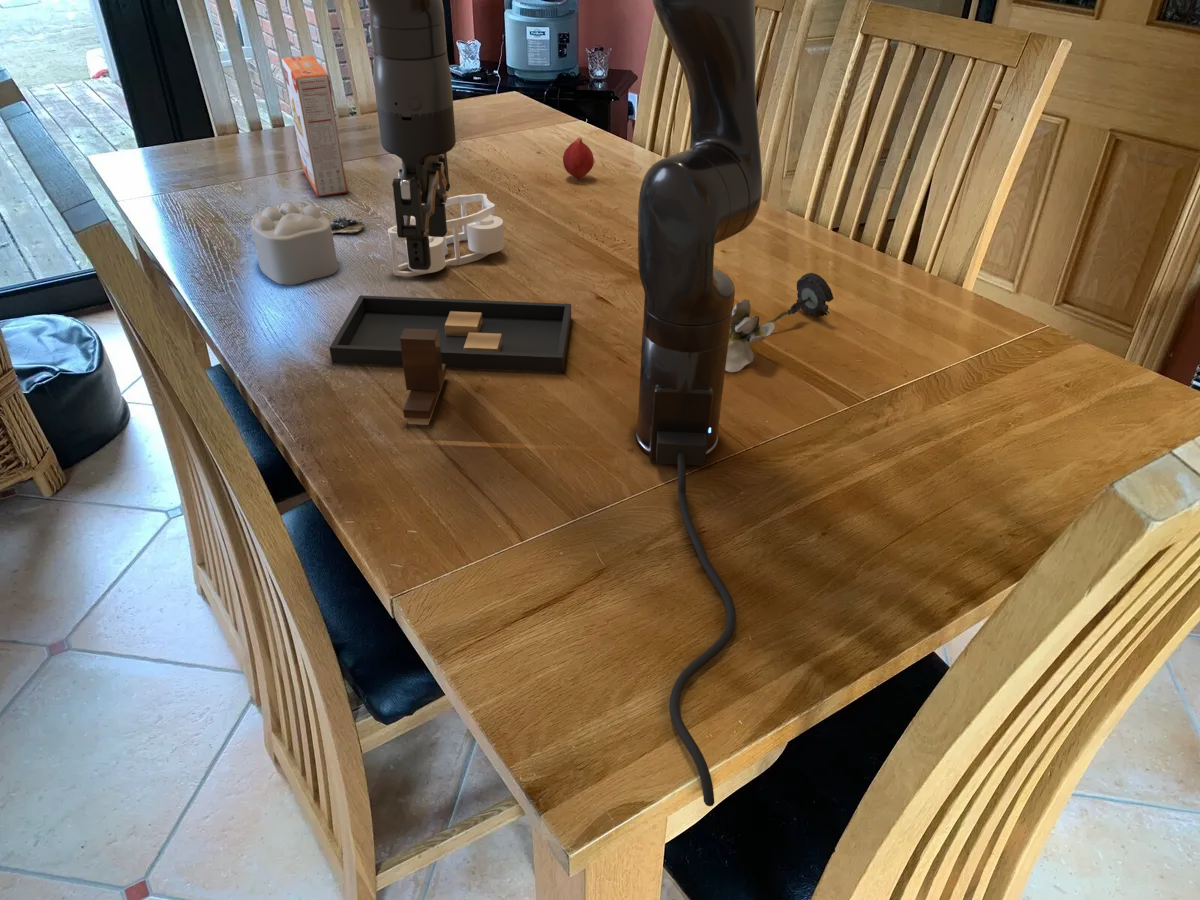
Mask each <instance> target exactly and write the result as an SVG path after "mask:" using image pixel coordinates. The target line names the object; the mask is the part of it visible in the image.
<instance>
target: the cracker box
mask: <svg viewBox="0 0 1200 900" xmlns="http://www.w3.org/2000/svg"><path fill="white" fill-rule="evenodd" d="M281 64H282V68H283V73H284V77H285V83H286V87H287V93H288V97H289V104H290V109H291V114H292V119H293V124H294V129H295V134H296V140H297V145H298V152H299V155H300V160H301V161H300V162H301V166H302V170H303V173H304V174H305V177H306V178H307V180H308V182H309V184H310V185H311V187H312V189H313V191H314V193H315V195H316V196H317V197H318V198H320V197H328V196H334V195H341V194H347V193H349V191H348V184H347V178H346V172H345V167H344V161H343V155H342V149H341V142H340V136H339V135H340V134H339V130H338V129H339V128H338V124H337V117H336V111H335V104H334V97H333V92H332V86H331V80H330V75H329V73H328V72H327V71H326V70H325V69H324V67H323V66H322V65H321V64H320V62H319V61H318V60H317V58H315V56H314V55H313V54H312V55H303V56H301V55H299V56H286V57H282V58H281Z"/></svg>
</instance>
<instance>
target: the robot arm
mask: <svg viewBox="0 0 1200 900" xmlns="http://www.w3.org/2000/svg"><path fill="white" fill-rule="evenodd" d="M366 2H367V6H368V20H369V30H370V37H371V46H372V47H371V48H372V55H373V75H372V76H373V87H374V94H375V101H376V102H375V103H376V110H377V117H378V119H377V120H378V125H379V126H378V127H379V136H380V144H381V146H382V149H383V150H384V151H386V152H387V153H388V154H390V155H394V156H397V157H398V158H399V159H401V162H402V163H401V168H399V169H398V175H397V178H395V177H394V178H393V180H392V184H391V185H392V190H393V192H392V193H393V200H394V201H393V203H394V210H395V211H394V213H395V222H396V225H397V234H398V237H399V238H406V241H407V250H408V259H409V266H410V268H411V269H416V270H428V269H429V268H430V266H431V258H430V247H429V236H431V237H444V236H445V235H446V236H447V233H448V229H447V224H446V221H447V214H446V213H447V212H446V207H445V204H443V203H446V200H447V198H448V195H447V192H449V191H450V188H451V183H450V176H449V166H448V155H447V153H449V152H450V151H451V150H453V148H455V145H456V142H457V141H456V140H457V139H456V127H455V126H456V124H455V112H454V95H453V82H452V74H451V68H450V63H449V58H448V50H447V48H448V47H447V36H446V22H445V9H444V4H443V0H366ZM652 4H653V7H654V10H655V13H656V16H657V18H658V21H659V23H660V25H661V27H662V30H663V31H664V34H665V36H666V38H667V40H668V42H669V44H670V46H671V48H672V50H673V52H674V54H675V56H676V58H677V60H678V63H679V65H680V67H681V69H682V72H683V76H684V78H685V82H686V85H687V89H688V98H689V108H690V138H689V139H690V142H689V149H686V150H683V151H680V152H677V153H675V154H672V155H669V156H666V157H664V158H662V159H660V160H658V161H656V162H655V163H653V164H652V165H651V166H650V167H649V168H648V169H647V171H646V173H645V175H644V177H643V180H642V181H641V186H640V189H639V195H638V207H637V253H638V254H637V263H638V264H637V265H638V266H637V267H638V275H639V279H640V282H641V285H642V288H643V292H644V301H643V302H644V303H643V318H642V334H641V349H640V350H641V351H640V353H641V354H640V367H639V369H640V370H639V371H640V372H639V387H638V389H639V390H638V403H637V404H638V406H637V426H636V430H635V439H636V443H637V445H638V447H639V448H640V449H641V450H642V451H643V452H645V453H646V454H647V455H648V456H649V461H650V462H655V464H660V465H661V464H662V465H677V497H678V503H679V508H680V514H681V517H682V521H683V523H684V527H685V529H686V531H687V534H688V536H689V538H690V540H691V542H692V545H693V548H694V551H695V552H696V555H697V556H698V559H699V561H700V563H701V566H702V567H703V569H704V571H705V573H706V574H707V576H708V577H709V579H710V580H711V582H712V583H713V585H714V586H715V588H716V589H717V591H718V592H719V595H720V597H721V598H722V601H723V604H724V607H725V612H726V613H725V614H726V621H725V627H724V629H723V632H722V633H721V635H720V637H718V639H717V640H716V641H715V642H714V643H713V644H712V645H711V646H710V647H709V648H708V649H706V650H705V651H704V652H702V653H701V654H700V655H699V656H698V657H696V658H695V659H694V660H693V661H691V662H690V663H689V665H687V666H686V667H685V668H684V669H683V670H682V672H681V673H680V674H679V676H678V677H677V678H676V680H675V683H674V684H673V687H672V688H671V693H670V696H669V704H668V707H669V715H670V719H671V722H672V724H673V727H674V730H675V731H676V734H677V735H678V737H679V738H680V739H681V741H682V743H683V744H684V746H685V748H686V749H687V751H688V753H689V754H690V756H691V758H692V760H693V762H694V764H695V766H696V768H697V773H698V775H699V778H700V784H701V788H702V797H703V803H704V804H705V806H707V807H713V806H714V805H715V793H714V792H715V791H714V785H713V781H712V775H711V772H710V770H709V767H708V763H707V762H706V761H707V760H706V759H705V757H704V754H703V753H702V751H701V749H700V747H699V746H698V744H697V742H696V741H695V739H694V737H693V736H692V734H691V732H689V730H688V728H687V726H686V725H685V723H684V721H683V718H682V715H681V707H680V704H681V697H682V692H683V690H684V688H685V686H686V685H687V683H688V682H689V680H690V679H691V678H692V677H693V676H694V675H695V674H696V673H697V672H698V671H700V669H702V668H703V667H704V666H705V665H706V664H707V663H708V662H710V661H712V659H714V658H715V657H716V656H717V655H719V653H720V652H722V650H723V649H724V648H725V647H726V646H727V645H728V643H729V642H730V640H731V638H732V636H733V634H734V632H735V628H736V624H737V611H736V605H735V602H734V600H733V597H732V595H731V593H730V591H729V589H728V587H727V586H726V585H725V582H724V581H723V579H722V578H721V577H720V575H719V574H718V572H717V570H716V569H715V568H714V567H713V565H712V563H711V561H710V559H709V557H708V555H707V552H706V551H705V548H704V546H703V544H702V541H701V539H700V537H699V535H698V532H697V530H696V527H695V526H694V523H693V520H692V517H691V514H690V510H689V505H688V500H687V472H686V471H687V470H686V466H705V464H706V460H707V457H709V456H710V455H711V454H713V452H715V450H716V449H717V446H718V443H719V442H718V441H719V427H720V418H721V410H722V409H721V408H722V401H723V391H724V384H725V375H726V371H725V368H726V359H727V351H728V343H729V336H730V327H731V319H732V311H733V309H734V304H735V303H734V301H735V293H736V290H735V284H734V282H733V280H732V278H730V276H729V275H727V274H726V273H725V272H723V271H721V270H720V269H717V268H715V267H714V260H715V246H716V244H718V243H721V242H722V241H725V240H727V239H729V238H732V237H734V236H735V235H738V234H739V233H741V232H743V231H744V230H745V229H746V228H748V227H749V226H750V225H751V224H752V222H753V221H754V219H756V216H757V214H758V213H759V210H760V206H761V201H762V195H763V169H762V155H761V143H760V142H761V141H760V130H759V119H758V105H757V90H756V89H757V88H756V0H652ZM411 216H414V217H415V220H416V225H410V219H411ZM428 235H429V236H428Z"/></svg>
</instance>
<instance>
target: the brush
mask: <svg viewBox="0 0 1200 900" xmlns="http://www.w3.org/2000/svg"><path fill="white" fill-rule="evenodd" d="M400 344H401V352H402V359H403V366H402V367H403V373H404V382H405V388H406V389H405V390H406V391H410V392H409V394H408V396H407V398H406V402H405V404H404V406H403V410H402V411H403V418H404V419H407V424H408V425H421V426H422V425H423V426H429V424H430V421H431V419H432V417H433V413H434V410H435V407H436V405H437V402H438V399H439V396H440V394H441V391H442V387H443V385H444V382H445V377H446V375H447V368H446V364H442V359H441V349H440V339H439V330H431V329H407V328H405V329H404V331H403V333H402V335H401V337H400Z"/></svg>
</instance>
